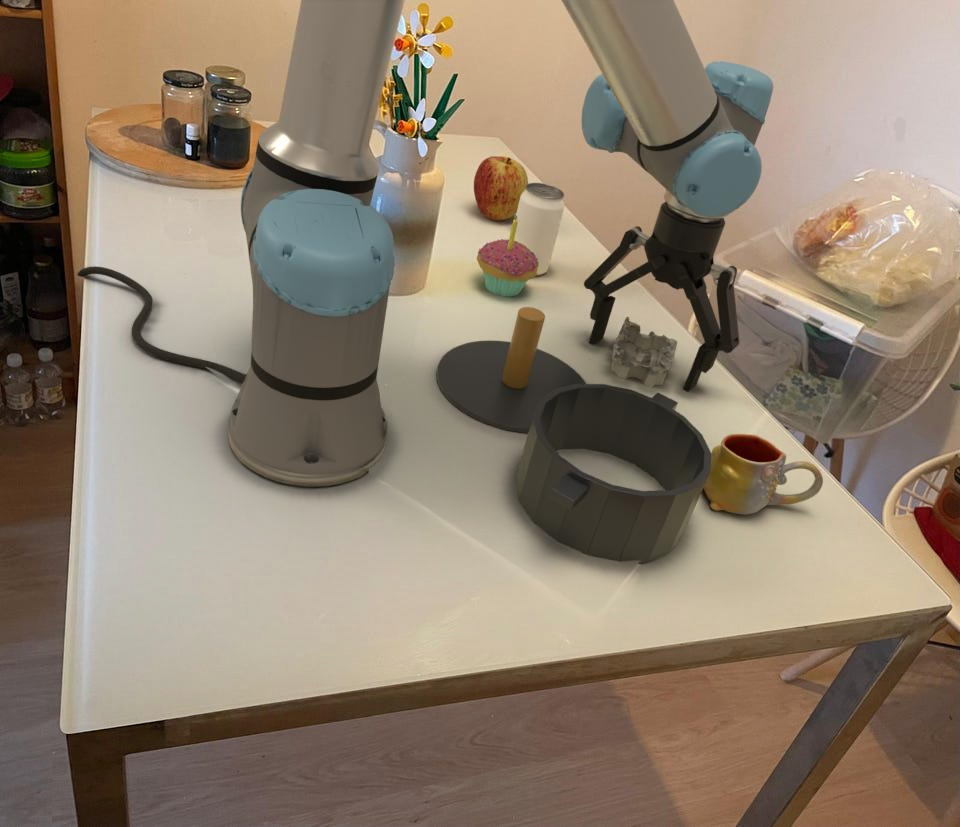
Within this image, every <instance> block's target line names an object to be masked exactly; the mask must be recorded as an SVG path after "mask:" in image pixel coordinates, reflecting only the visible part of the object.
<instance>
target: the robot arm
mask: <svg viewBox="0 0 960 827" xmlns="http://www.w3.org/2000/svg"><path fill="white" fill-rule="evenodd" d="M561 2H562V4H563V6H564V8H565V9H566V11H567V12H568V15H569V16H570V18H571V20H572V22H573V23H574V26H575V27H576V29H577V31H578V33H579V34H580V36H581V38H582V40H583V42H584V43H585V45H586V47H587V49H588V51H589V52H590V54H591V56H592V57H593V60H594V61H595V63H596V65H597V67H598V69H599V70H600V72H601V74H599V75H598V76H596V77H595V78H594V79H593V81H591V83H590V85H589V86H588V89H587V90H586V93H585V97H584V100H583V104H582V107H581V108H582V109H581V130H582V136H583V139H584V140H585V142H586V144H587V145H588V146H589V147H591V148H592V149H595V150H601V151H606V152H608V153H609V154H613V153H624V154H626V155H627V156H629V158H630V159H632V160H633V161H634V162H635V163H636V164H638V165H639V166H640V167H641V168H642V169H643V170H644V171H645V172H646V173H648V174H649V175H650V176H652V177H653V178H654V180H656V181H657V182H658V183H659V184H660V185H661V186H662V187H663V188H664V189H665V192H664V195H663V198H664V202H663V203H661V205H660V207H659V211H658V214H657V217H656V220H655V223H654V226H653V230H652V232H651V235H650V236H649V235H647V234H645V233H644V232H643V229H642V227H640V226H638V225H636V226H634V227H632V228H630V229H628V230H627V231H625V232H624V234H623V237H622V238H621V241H620V243H619V245H618V246H617V248H615V249H614V250H613V252H612V253H610V255H609V256H608V257H606V259H604V261H603V262H602V263H601V264H600V265H599V266H598V267H597V268H596V269H594V271H593V272H592V273H591V274H590V275H589V276H588V277H587V278H586V279H585V280H584V281H583V287H584V288H585V289H586V290H590V291H591V292H592V293H593V295H594V299H593V303H592V307H591V309H590V314H589V319H590V320H592V321H594V323H593V327H592V331H591V334H590V337H589V340H588V344H590V345H592V346H595V345H596V344H598V343H600V342H601V341H602V340H603V339H604V337H605V333H606V330H607V328H608V324H609V320H610V318H611V314H612V311H613V308H614V304H615V302H616V297H615V296H613V295H611V294H613V293H615V292H617V291H619V290H621V289H622V288H624V287H626V286H627V285H630V284H632V283H633V282H635V281H637V280H639V279H641V278H643V277H645V276H647V275H648V274H650V273H651V275H652V276H653V278H654V281H656V282H659V283H663V284H667V285H668V286H669V287H671V289H675V290H677V291H678V290H683V292H684V295H685V297H686V299H687V300H688V301H689V303H690V305H691V308H692V310H693V314H694V316H695V319H696V321H697V325H698V327H699V329H700V332H701V335H702V339H703V343H701V345H700V346H699V347H698V350H697V352H696V354H695V357H694V360H693V362H692V365H691V368H690V370H689V373H688V375H687V378H686V381H685V384H684V386H683V388H682V391H685V392H687V393H690V392H691V390H693V389H694V387H696V386H697V384H698V382H699V380H700V378H701V375H702V373H704V374H707V373H708V372H709V371H710V370H711V369H712V368H713V367H714V364H715V362H716V360H717V357H718V354H719V352H724V353H725V354H730V353H732V352H733V351H734V350H735V349H736V348H737V347H738V346H739V345H740V334H739V325H738V324H739V323H738V314H737V306H736V296H735V283H736V279H737V275H738V269H737V267H736V266H734V265H729V266H728V267H727V266H723V265H720V264H716V263H715V260H714V255H715V253H716V250H717V247H718V246H719V242H720V239H721V236H722V234H723V231H724V228H725V227H726V221H725V218H727V217H728V216H729V215H731V213H734V212H735V211H736V210H738V209H740V208H741V207H742V206H744V204H745V203H747V201H749V199H750V198H751V197H752V196H753V194H754V193H755V191H756V190H757V187H758V185H759V183H760V180H761V175H762V168H763V167H762V158H761V155H760V153H759V150H758V149H757V147H756V146H755V145H756V142H757V140H758V137H759V135H760V132H761V130H762V127H763V125H765V122H766V115H767V112H768V109H769V106H770V103H771V99H772V95H773V92H774V83H773V80H772V79H771V78H770V77H769V75H767V74H766V73H764V72H762V71H760V70H757V69H756V68H752V67H750V66H746V65H743V64H739V63H734V62H728V61H712V62H709V63H708V64H707V65H706V66H704V64H703V62H702V60H701V58H700V55H699V53H698V51H697V48H696V46H695V44H694V42H693V40H692V38H691V36H690V33H689V31H688V29H687V26H686V24H685V22H684V20H683V18H682V15H681V13H680V11H679V8H678V7H677V5H676V2H675V0H561ZM404 5H405V0H300V5H299V11H298V15H297V21H296V26H295V32H294V38H293V43H292V49H291V53H290V59H289V65H288V69H287V74H286V80H285V86H284V91H283V95H282V102H281V107H280V112H279V119H278V120H277V122H275V123H273V124H272V125H270V126H268V127H266V128H265V129H263V130H261V132H260V133H259V135H258V139H257V144H256V150H255V156H254V160H253V166H252V168H251V170H250V172H249V173H248V175H247V177H246V180H245V183H244V185H243V187H242V192H241V197H240V198H241V199H240V216H241V222H242V226H243V229H244V230H243V231H244V232H245V237H246V238H245V239H246V244H247V252H248V260H249V267H250V268H249V269H250V277H251V283H252V322H251V324H252V325H251V345H250V346H251V348H250V349H251V352H250V354H251V355H250V367H249V369H248V371H247V373H243V372H241V371H238V370H236V369H233V368H231V367H228V366H225V365H223V364H219V363H217V362H213V361H210V360H205V359H203V358H202V359H201V358H197V357H192V356H187V355H183V354H179V353H175V352H171V351H169V350H168V351H167V350H165V349H162V348H159V347H157V346H155V345H153V344H151V343H150V342H148V341H147V340H146V339H144V338H143V336H142V334H141V329H142V326H143V325H144V323H145V321H146V319H147V318H148V317H149V315H150V313H151V311H152V308H153V305H154V304H153V302H154V300H153V296H152V294H150V292H149V291H148V290H147V289H146V288H145V287H144V286H142V284H140V283H139V282H137V281H136V280H134V279H132V278H131V277H129V276H128V275H126V274H123V273H121V272H119V271H117V270H114V269H111V268H108V267H104V266H95V265H94V266H86V267H84V268H81V269H80V270H79V271H78V272H77V274H76V275H77V276H78V277H81V278H83V277H87V276H90V275H101V276H106V277H109V278H112V279H115V280H117V281H118V282H121V283H122V284H124V285H126V286H128V287H130V289H132V290H134V291H135V292H137V293H138V294H139V295H140V296H141V297H142V298H143V301H144V303H143V307H142V309H141V310H140V312H139V313H138V315H137V316H136V318H135V319H134V321H133V323H132V325H131V337H132V339H133V341H134V342H135V344H136V345H137V346H138V347H140V348H141V349H142V350H143V351H145V352H146V353H148V354H149V355H151V356H154V357H157V358H160V359H162V360H166V361H169V362H173V363H176V364H181V365H186V366H190V367H195V368H199V369H203V370H207V371H210V370H213V371H216V372H218V373H220V374H222V375H224V376H226V377H229V378H231V379H233V380H235V381H237V382H240V383H242V384H241V387H240V389H239V392H238V394H237V397H236V399H235V400H234V402H233V405H232V407H231V410H230V413H229V416H228V443H229V447H230V448H231V451H232V452H233V454H234V455H235V457H236V459H238V460H239V461H240V462H241V463H242V464H243V465H244V466H245V467H246V468H248V469H249V470H251V471H252V472H254V473H256V474H257V475H259V476H262V477H263V478H266V479H268V480H272V481H274V482H277V483H281V484H285V485H290V486H296V487H297V486H298V487H309V488H310V487H311V488H314V487H315V488H316V487H327V486H335V485H340V484H344V483H348V482H350V481H353V480H356V479H358V478H360V477H362V476H364V475H366V474H367V473H368V472H369V470H370V469H371V468H372V467H374V466H375V465H376V464H377V463H378V462H379V460H380V459H381V457H382V456H383V454H384V452H385V449H386V445H387V444H386V443H387V439H388V433H389V431H388V429H389V428H390V425H388V424H391V423H390V422H391V420H389V423H388V422H387V418H386V414H385V411H384V409H383V407H382V403H381V394H380V389H379V384H378V379H377V378H378V370H379V362H380V356H381V349H382V342H383V336H384V328H385V323H386V322H385V321H386V315H387V308H388V301H389V294H390V287H391V285H392V284H391V282H392V280H393V278H394V273H395V266H396V264H395V241H394V240H395V238H394V235H393V232H392V229H391V227H390V224H389V222H388V221H387V220H386V218H385V217H384V216H383V215H382V214H381V213H380V212H379V211H378V210H377V209H376V208H374V207H373V206H371V204H372V200H373V195H374V193H375V192H374V191H375V187H376V184H377V179H378V175H379V171H380V166H379V163H378V160H376V158H375V156H374V155H373V152H371V149H370V141H371V138H372V134H373V131H374V126H375V121H376V117H377V114H378V110H379V105H380V101H381V98H382V94H383V90H384V86H385V81H386V77H387V73H388V69H389V65H390V61H391V57H392V53H393V49H394V45H395V41H396V37H397V33H398V28H399V24H400V21H401V18H402V12H403V9H404ZM641 247H643V249H644V252H645V256H646V259H647V261H645V262H644V263H643V264H641V265H639V266H638V267H636V268H633V269H632V270H630V271H628V272H627V273H625V274H623V275H621V276H619V277H618V278H615V279H614V280H612V281H611V282H609V283H607V284H606V283H604V280H605V279H606V277H608V276H609V275H610V273H612V271H613V270H615V268H616V267H617V266H619V264H621V262H623V261H624V260H625V259H626V258H627V257H628V256H629V254H631V252H632V251H634V250H638V249H639V248H641ZM708 275H711V277H712V281H713V284H714V285H715V286H716V290H715V292H716V302H717V311H718V320H719V321H718V320H717V317H716V315H715V311H714V309H713V306H712V304H711V301H710V298H709V295H708V292H707V289H708V288H707V283H706V281H705V279H704V278H706V277H707V276H708ZM718 322H719V323H718ZM391 416H392V415H390V417H389V418H391ZM387 423H388V424H387Z"/></svg>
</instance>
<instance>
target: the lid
mask: <svg viewBox="0 0 960 827" xmlns="http://www.w3.org/2000/svg"><path fill="white" fill-rule="evenodd" d="M545 320H546V314H545V313H544V312H543V311H541V309H538V308H535V307H531V306H523V307H520V308H519V309H518V311H517V315H516V319H515V323H514V327H513V331H512V334H511V335H512V336H511V339H510V341H504V340H477V341H470V342H466V343H463V344H460V345H457V346H455V347H453V348H451V349H450V350H448V351H447V352H446V353H444V355H443V356H442V357H441V358H440V360H439V362H438V365H437V368H436V381H437V382H436V383H437V384H438V387H439V389H440V391H441V393H442V394H443V396H444V397H445V398H446V399H447V400H448V401H449V402H450V403H451V404H452V405H453V406H454V407H456V408H457V409H458V410H459V411H461V412H463V413H464V414H466V415H467V416H469V417H471V418H472V419H474V420H477V421H478V422H481V423H483V424H485V425H488V426H492V427H494V428H497V429H501V430H506V431H508V432H509V431H510V432H517V433H522V434H523V433H524V434H528V432H529V429H530V425H531V422H532V418H533V415H534V413H535V410H536V407H537V405H538V402H539V401H540V400H541V399H542V398H544V397H545V396H546V395H548V394H549V393H550V392H552V391H553V390H555V389H559V388H563V387H567V386H571V385H575V384H587V383H586V381H585V380H584V379H583V377H582V376H581V375H580V374H579V373H578V372H577V371H576V370H575V369H574V368H573V367H572V366H571V365H569V364H568V363H566V362H565V361H564V360H562V359H560V358H558V357H556V356H555V355H553V354H550V353H548V352H546V351H544V350H542V349H539V348H538V346H539V342H540V337H541V334H542V330H543V327H544V323H545Z"/></svg>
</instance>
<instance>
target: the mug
mask: <svg viewBox="0 0 960 827" xmlns="http://www.w3.org/2000/svg"><path fill="white" fill-rule="evenodd" d="M711 454H712V455H711V472H710V474H709V477H708V479H707V481H706V483H705V486H704V488H703V491H704V493H705V495H706V497H707V499H708V501H710V505H709V506H710V509H712V510H713V511H725V512H727V513H729V514H736V515H742V516H743V515H744V516H747V515H754V514H755V513H756V514H757V513H758V512H759V511H760V510H762V509H763V508H764V507H766V506H783V505H784V506H785V505H795V504H798V503H802V502H805V501H808V500H809V499H811V498H813V497H815V496H816V495H817V494H818V493H819V492H820V491H821V489H822V488H823V484H824V478H823V475H822V472H821V471H820V469H819V468H818V466H816V465H815V464H813V463H811V462H808V461H804V460H798V461H793V462H789V463H787V464H786V461H787V454H786V453H785V452H784V451H781V450H780V449H779V448H778V447H776V446H775V444H773V443H772V442H770V441H769V440H767V439H765V438H763V437H761V436H759V435H756V434H749V433H731V434H728V435H726V436H725V437H723V438H722V440H721V442H720V444H718V445H715V446H714V447H713V448H712V450H711ZM793 470H807V471H809V472H811V473H812V474H813V477H814V480H813V482H812V484H811V485H810V487H808V489H806V490H804V491H802V492H799V493H792V494H791V493H789V494H784V493H779V492H777V487H778V486H783V485H786V483H787V482H788V478H787V476H786V473H788V472H790V471H793Z"/></svg>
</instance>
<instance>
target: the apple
mask: <svg viewBox="0 0 960 827" xmlns="http://www.w3.org/2000/svg"><path fill="white" fill-rule="evenodd" d="M527 184H529V178H528V175H527V172H526V169H525V168H524V166H523V165H522V164H521V163H519V162H518V161H517V160H515V159H513V158H511V157H508V156H504V155H502V156H499V155H498V156H496V155H495V156H489V157H487V158H485V159H483V160H482V162H480V164H479V165H478V167H477V170H476V172H475V174H474V179H473V194H474V198H475V202H476V205H477V208H478V211H479V212H480V213H481V214H482V215H483V216H484V217H485V218H488V219H491V220H493V221H498V222H500V221H505V220H509V219H510V218H512V217H514V216H516V213H517V209H518V205H519V201H520V197H521V194H522V193H523V192H524V191H525V189H526V185H527Z"/></svg>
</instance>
